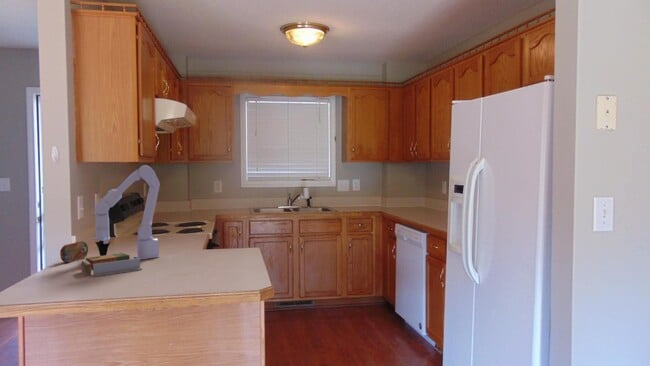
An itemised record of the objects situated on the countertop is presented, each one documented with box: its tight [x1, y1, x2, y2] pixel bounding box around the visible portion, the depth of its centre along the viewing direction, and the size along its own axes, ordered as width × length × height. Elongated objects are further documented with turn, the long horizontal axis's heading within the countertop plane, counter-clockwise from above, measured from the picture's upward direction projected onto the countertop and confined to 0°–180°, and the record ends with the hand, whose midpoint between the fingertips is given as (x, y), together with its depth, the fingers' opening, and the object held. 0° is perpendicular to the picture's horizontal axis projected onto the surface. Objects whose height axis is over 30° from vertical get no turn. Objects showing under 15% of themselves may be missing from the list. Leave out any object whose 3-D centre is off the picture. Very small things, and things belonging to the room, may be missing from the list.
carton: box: [85, 252, 131, 270], centre depth 202 cm, size 8×16×4 cm, turn 139°
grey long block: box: [92, 258, 143, 277], centre depth 188 cm, size 18×3×4 cm, turn 128°
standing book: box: [81, 259, 92, 277], centre depth 186 cm, size 2×9×5 cm, turn 38°
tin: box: [59, 240, 89, 263], centre depth 210 cm, size 15×3×8 cm, turn 168°
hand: (103, 256), depth 210 cm, fingers closed
